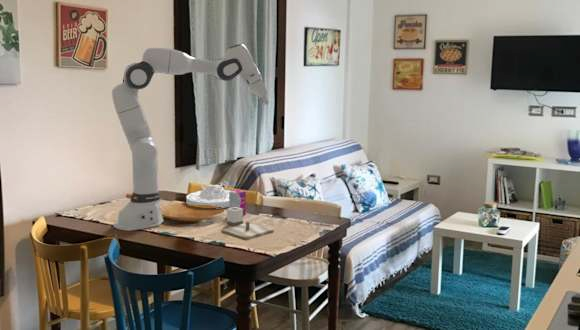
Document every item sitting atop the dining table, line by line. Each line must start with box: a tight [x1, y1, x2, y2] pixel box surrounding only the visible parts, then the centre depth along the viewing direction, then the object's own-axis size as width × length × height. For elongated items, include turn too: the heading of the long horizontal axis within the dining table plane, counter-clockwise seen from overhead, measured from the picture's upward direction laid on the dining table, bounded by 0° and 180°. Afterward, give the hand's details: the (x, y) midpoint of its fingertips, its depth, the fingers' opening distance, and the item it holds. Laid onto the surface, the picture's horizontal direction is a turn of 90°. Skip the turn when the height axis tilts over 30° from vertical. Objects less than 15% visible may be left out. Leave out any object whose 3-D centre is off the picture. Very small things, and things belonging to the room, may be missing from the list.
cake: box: [185, 182, 231, 209], centre depth 324 cm, size 28×28×10 cm
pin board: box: [221, 221, 275, 240], centre depth 272 cm, size 16×16×4 cm
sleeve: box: [226, 207, 244, 227], centre depth 284 cm, size 5×5×7 cm
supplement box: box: [228, 189, 247, 216], centre depth 299 cm, size 6×6×12 cm
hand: (264, 103), depth 293 cm, fingers open, 8 cm apart
